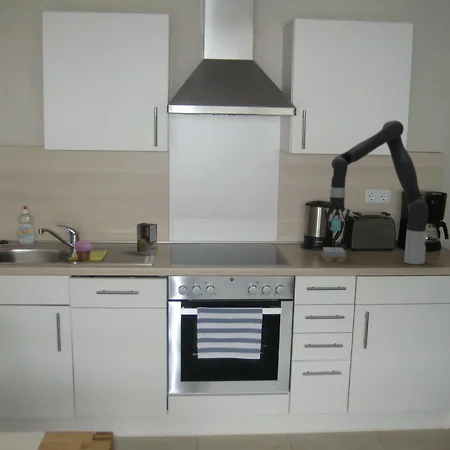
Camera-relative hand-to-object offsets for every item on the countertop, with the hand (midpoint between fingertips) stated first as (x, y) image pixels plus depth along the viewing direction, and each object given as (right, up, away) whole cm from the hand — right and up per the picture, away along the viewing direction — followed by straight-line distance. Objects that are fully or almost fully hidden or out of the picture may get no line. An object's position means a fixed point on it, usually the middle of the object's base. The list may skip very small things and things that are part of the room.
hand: (335, 228), depth 283 cm
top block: (0, -14, +2) cm, 14 cm away
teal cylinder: (0, -1, 0) cm, 1 cm away
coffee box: (-99, -14, +7) cm, 101 cm away
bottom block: (0, -17, +3) cm, 17 cm away
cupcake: (-129, -16, -9) cm, 130 cm away
